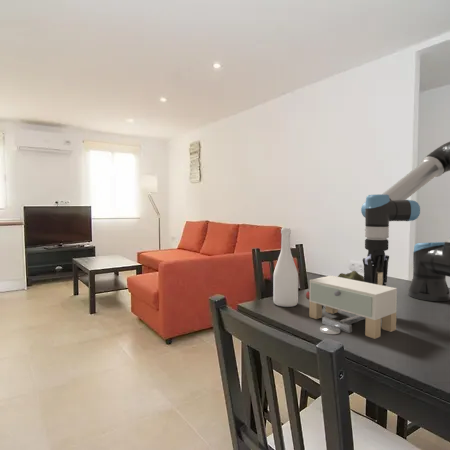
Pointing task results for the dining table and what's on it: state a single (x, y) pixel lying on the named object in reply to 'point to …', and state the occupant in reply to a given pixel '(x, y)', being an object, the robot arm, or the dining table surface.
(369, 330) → the cabinet
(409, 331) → the dining table surface
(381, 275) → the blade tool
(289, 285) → the wine bottle
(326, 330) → the steel disc
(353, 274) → the decorative rock
